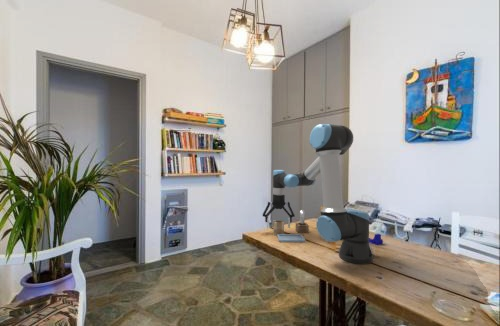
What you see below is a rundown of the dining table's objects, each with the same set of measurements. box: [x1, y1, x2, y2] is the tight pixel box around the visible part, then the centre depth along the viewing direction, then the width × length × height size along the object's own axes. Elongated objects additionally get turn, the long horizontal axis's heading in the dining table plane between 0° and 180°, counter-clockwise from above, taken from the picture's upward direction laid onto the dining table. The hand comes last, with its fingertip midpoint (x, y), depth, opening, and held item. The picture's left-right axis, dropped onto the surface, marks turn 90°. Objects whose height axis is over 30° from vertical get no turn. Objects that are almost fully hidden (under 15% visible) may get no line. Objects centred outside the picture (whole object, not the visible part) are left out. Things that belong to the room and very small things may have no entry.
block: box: [272, 219, 285, 236], centre depth 152 cm, size 6×6×8 cm
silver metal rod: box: [299, 209, 306, 225], centre depth 157 cm, size 3×3×14 cm
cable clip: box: [369, 233, 384, 246], centre depth 138 cm, size 12×4×6 cm, turn 22°
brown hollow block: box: [295, 222, 310, 234], centre depth 157 cm, size 7×7×5 cm
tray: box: [276, 233, 307, 243], centre depth 142 cm, size 11×15×1 cm
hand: (278, 227), depth 152 cm, fingers open, 13 cm apart
